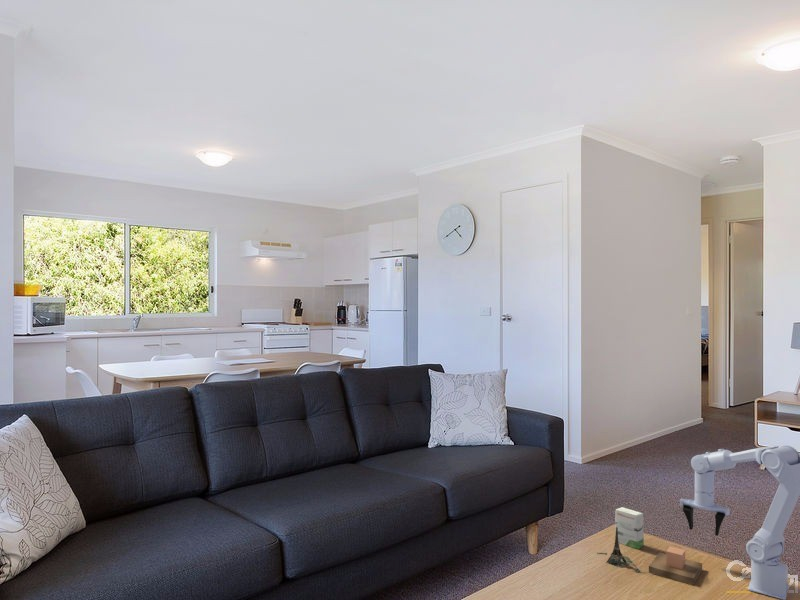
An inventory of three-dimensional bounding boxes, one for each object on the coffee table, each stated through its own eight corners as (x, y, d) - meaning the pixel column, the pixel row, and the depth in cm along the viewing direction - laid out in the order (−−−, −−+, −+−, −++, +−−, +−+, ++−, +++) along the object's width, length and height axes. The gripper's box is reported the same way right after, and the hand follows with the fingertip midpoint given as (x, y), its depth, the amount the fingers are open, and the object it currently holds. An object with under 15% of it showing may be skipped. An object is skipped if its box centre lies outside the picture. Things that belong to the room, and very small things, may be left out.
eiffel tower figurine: (642, 575, 183) (643, 533, 183) (611, 575, 183) (611, 533, 183) (624, 554, 198) (625, 515, 198) (595, 554, 198) (595, 515, 198)
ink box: (644, 546, 204) (644, 512, 204) (637, 549, 201) (637, 515, 201) (621, 538, 211) (621, 505, 211) (614, 541, 207) (614, 508, 207)
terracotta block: (685, 564, 185) (685, 550, 185) (681, 569, 182) (682, 555, 182) (669, 560, 188) (669, 546, 188) (666, 565, 185) (666, 551, 185)
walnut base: (702, 569, 186) (702, 563, 186) (693, 585, 176) (693, 578, 176) (659, 558, 194) (659, 552, 194) (648, 572, 184) (648, 566, 184)
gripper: (731, 492, 189) (731, 533, 189) (683, 483, 198) (683, 522, 198) (727, 497, 184) (727, 540, 184) (678, 488, 193) (678, 528, 193)
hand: (704, 531), depth 191 cm, fingers open, 7 cm apart
